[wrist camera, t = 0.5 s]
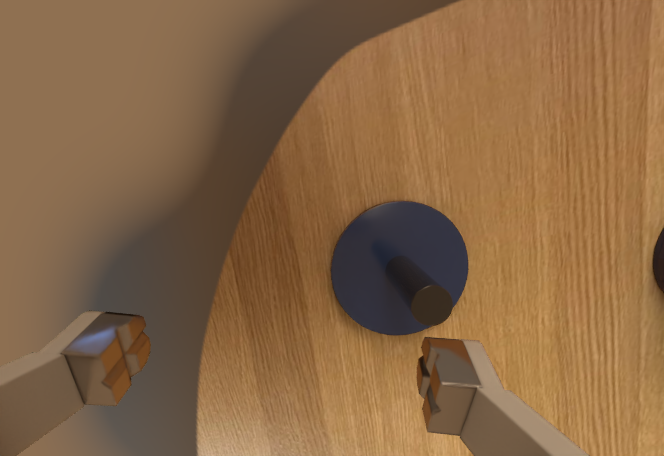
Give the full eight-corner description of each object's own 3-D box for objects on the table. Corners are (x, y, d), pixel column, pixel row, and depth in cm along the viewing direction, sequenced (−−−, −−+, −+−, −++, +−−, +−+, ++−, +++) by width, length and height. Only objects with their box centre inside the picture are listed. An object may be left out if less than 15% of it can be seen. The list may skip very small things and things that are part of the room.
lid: (315, 219, 28) (316, 239, 19) (449, 185, 28) (509, 190, 19) (347, 343, 29) (361, 412, 21) (473, 311, 30) (536, 366, 21)
